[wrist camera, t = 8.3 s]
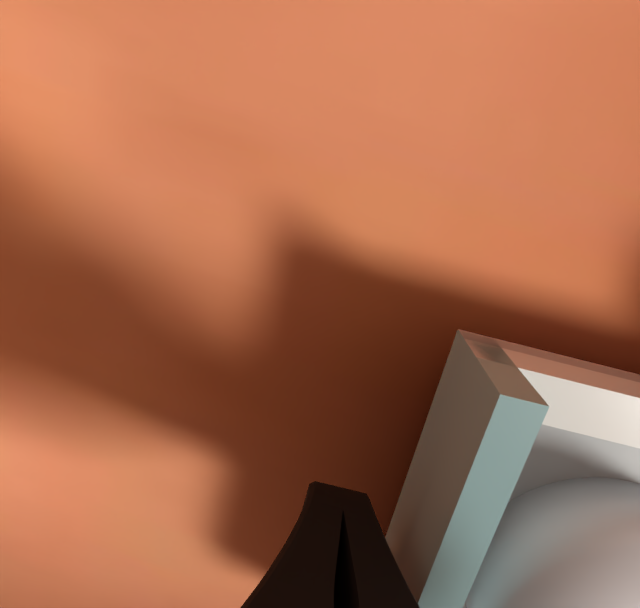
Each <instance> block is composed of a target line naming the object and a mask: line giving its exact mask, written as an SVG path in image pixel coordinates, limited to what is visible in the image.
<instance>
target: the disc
mask: <svg viewBox="0 0 640 608" xmlns="http://www.w3.org/2000/svg"><path fill="white" fill-rule="evenodd" d="M465 603H466V607H467V608H640V484H638V483H634V482H630V481H626V480H621V479H614V478H606V477H585V478H573V479H567V480H562V481H557V482H553V483H550V484H546V485H543V486H540V487H537V488H535V489H533V490H530V491H528V492H526V493H524V494H522V495H520V496H518V497H516V498H515V499H513V500H511V501H510V502H508V504H507V506H506V508H505V511H504V513H503V515H502V518H501V520H500V522H499V525H498V527H497V529H496V532H495V534H494V536H493V539H492V541H491V543H490V546H489V548H488V550H487V553H486V555H485V557H484V559H483V562H482V564H481V566H480V569H479V571H478V573H477V576H476V578H475V580H474V583H473V585H472V587H471V590H470V592H469V594H468V597H467V599H466V601H465Z"/></svg>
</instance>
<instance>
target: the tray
mask: <svg viewBox="0 0 640 608" xmlns="http://www.w3.org/2000/svg"><path fill="white" fill-rule="evenodd" d="M585 477H606V478H614V479H621V480H626V481H630V482H634V483H638V484H640V374H636V373H632V372H628V371H624V370H620V369H616V368H612V367H608V366H604V365H600V364H596V363H592V362H588V361H584V360H580V359H576V358H572V357H568V356H564V355H560V354H556V353H552V352H548V351H544V350H540V349H536V348H532V347H528V346H524V345H520V344H516V343H512V342H508V341H504V340H500V339H496V338H492V337H488V336H484V335H480V334H476V333H472V332H468V331H464V330H460V329H458V330H457V333H456V336H455V339H454V341H453V344H452V347H451V350H450V353H449V356H448V359H447V361H446V364H445V367H444V370H443V373H442V376H441V379H440V382H439V384H438V387H437V390H436V393H435V396H434V399H433V402H432V404H431V407H430V410H429V413H428V416H427V419H426V422H425V425H424V427H423V430H422V433H421V436H420V439H419V442H418V445H417V448H416V450H415V453H414V456H413V459H412V462H411V465H410V468H409V470H408V473H407V476H406V479H405V482H404V485H403V488H402V491H401V493H400V496H399V499H398V502H397V505H396V508H395V511H394V514H393V516H392V519H391V522H390V525H389V528H388V531H387V534H386V536H385V539H386V541H387V543H388V546H389V548H390V550H391V552H392V554H393V556H394V558H395V561H396V563H397V565H398V567H399V569H400V571H401V573H402V575H403V577H404V579H405V581H406V583H407V585H408V587H409V589H410V591H411V593H412V594H413V596H414V598H415V600H416V602H417V603H418V605H419V607H420V608H467V607H466V603H465V601H466V599H467V597H468V594H469V592H470V590H471V587H472V585H473V583H474V580H475V578H476V576H477V573H478V571H479V569H480V566H481V564H482V562H483V559H484V557H485V555H486V553H487V550H488V548H489V546H490V543H491V541H492V539H493V536H494V534H495V532H496V529H497V527H498V525H499V522H500V520H501V518H502V515H503V513H504V511H505V508H506V506H507V504H508V502H510V501H511V500H513V499H515V498H516V497H518V496H520V495H522V494H524V493H526V492H528V491H530V490H533V489H535V488H537V487H540V486H543V485H546V484H550V483H553V482H557V481H562V480H567V479H573V478H585Z"/></svg>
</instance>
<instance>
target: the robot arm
mask: <svg viewBox="0 0 640 608" xmlns="http://www.w3.org/2000/svg"><path fill="white" fill-rule="evenodd" d="M241 608H420V607H419V605H418V603H417V602H416V600H415V598H414V596H413V594H412V593H411V591H410V589H409V587H408V585H407V583H406V581H405V579H404V577H403V575H402V573H401V571H400V569H399V567H398V565H397V563H396V561H395V558H394V556H393V554H392V552H391V550H390V548H389V546H388V543H387V541H386V539H385V537H384V534H383V532H382V530H381V527H380V525H379V522H378V520H377V517H376V515H375V512H374V510H373V507H372V505H371V502H370V499H369V498H368V496H367V494H365V493H361V492H357V491H353V490H349V489H345V488H341V487H337V486H333V485H329V484H324V483H320V482H316V481H315V482H313V483H311V484H309V488H308V491H307V495H306V499H305V502H304V506H303V509H302V512H301V514H300V517H299V519H298V521H297V523H296V525H295V526H294V528H293V530H292V532H291V534H290V536H289V538H288V540H287V541H286V543H285V545H284V547H283V548H282V550H281V551H280V553H279V554H278V556H277V557H276V559H275V561H274V562H273V564H272V565H271V567H270V568H269V570H268V571H267V573H266V574H265V576H264V577H263V579H262V580H261V581H260V583H259V584H258V586H257V587H256V588H255V590H254V591H253V592H252V593H251V595H250V596H249V597H248V599H247V600H246V601H245V603H244V604H243V605H242V606H241Z"/></svg>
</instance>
